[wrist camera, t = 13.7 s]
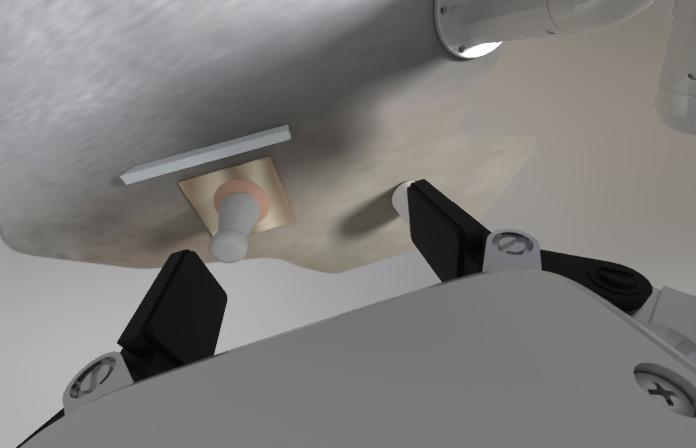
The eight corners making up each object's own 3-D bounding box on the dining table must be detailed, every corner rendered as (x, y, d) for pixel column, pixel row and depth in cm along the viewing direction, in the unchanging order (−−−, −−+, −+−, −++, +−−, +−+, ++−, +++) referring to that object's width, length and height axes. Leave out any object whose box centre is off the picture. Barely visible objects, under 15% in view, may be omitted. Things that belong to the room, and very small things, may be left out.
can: (384, 195, 46) (411, 230, 36) (413, 172, 45) (450, 203, 35) (401, 217, 49) (430, 255, 39) (428, 196, 48) (465, 230, 38)
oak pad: (270, 155, 38) (270, 156, 37) (295, 219, 45) (296, 221, 44) (178, 181, 37) (177, 182, 37) (218, 242, 44) (218, 244, 43)
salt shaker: (255, 222, 43) (245, 275, 32) (219, 212, 40) (195, 266, 30) (265, 193, 40) (258, 240, 29) (228, 181, 38) (205, 226, 27)
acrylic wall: (287, 124, 36) (287, 130, 33) (290, 132, 37) (291, 139, 33) (135, 165, 35) (119, 176, 32) (140, 173, 36) (126, 184, 32)
